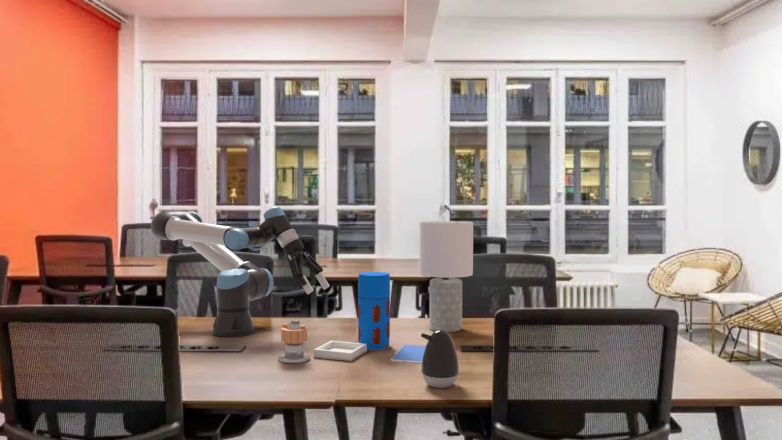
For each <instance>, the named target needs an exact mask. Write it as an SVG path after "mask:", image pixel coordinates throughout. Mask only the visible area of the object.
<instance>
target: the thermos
mask: <svg viewBox="0 0 782 440" xmlns="http://www.w3.org/2000/svg"><path fill="white" fill-rule="evenodd" d="M357 279H358V280H357V281H358V288H357V289H358V291H357V295H358V296H357V297H358V298H357V301H358V304H357V306H358V307H357V308H358V309H357V311H358V312H357V314H358V315H357V316H358V318H357V320H358V321H357V322H358V323H357V325H358V326H357V329H358V331H357V338H358V343H363V344H367V351H368V350H369V351H377V350H385V349H388V348H389V347H390V339H391V338H390V337H391V336H390V335H391V332H390V331H391V330H390V327H391V324H390V323H391V318H390V317H391V312H390V310H391V309H390V307H391V303H390V302H391V288H390V287H391V277H390V273H389V272H383V271H364V272H363V271H362V272H360V273H358V278H357Z"/></svg>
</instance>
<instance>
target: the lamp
mask: <svg viewBox="0 0 782 440" xmlns="http://www.w3.org/2000/svg"><path fill="white" fill-rule="evenodd" d="M418 272H419V275H420V276H424V277H430V278H431V279H430V280H429V330H431V331H433V332H435V331H437V330H444V331H446V332H447V333H455V332H456V331H457V332H460V331H461V330H462V328H463V280H461V278H467V277H471V276H473V275H474V222H472V221H462V220H461V221H459V220H457V221H456V220H454V221H451V220H450V221H448V220H447V221H446V220H444V221H443V220H435V221H434V220H431V221H429V220H427V221H420V222H419V271H418Z"/></svg>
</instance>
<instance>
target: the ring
mask: <svg viewBox="0 0 782 440" xmlns="http://www.w3.org/2000/svg"><path fill="white" fill-rule="evenodd" d="M280 330H281V331H280V333H281V335H280V337H281V339H280V341H281V343H282V344H285V343H288V344H297V343H304V344H305V343H307V342H308V327H307V325H305V324H302V325H301V324H300V329H297V330H289V329H288V323H283V324H282V327H281V329H280Z"/></svg>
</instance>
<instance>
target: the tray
mask: <svg viewBox="0 0 782 440" xmlns="http://www.w3.org/2000/svg"><path fill="white" fill-rule="evenodd" d="M366 352H368V349H367V344H363V343H359V342H351V341H349V342H348V341H341V340H330V341H328V342H326V343H324V344H321V345H320V346H317V347H315V348H313V358H318V359H328V360H338V361H347V362H352V361H354V360H355V359H357V358H358V357H360V356H362V355H363V354H365V353H366Z"/></svg>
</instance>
